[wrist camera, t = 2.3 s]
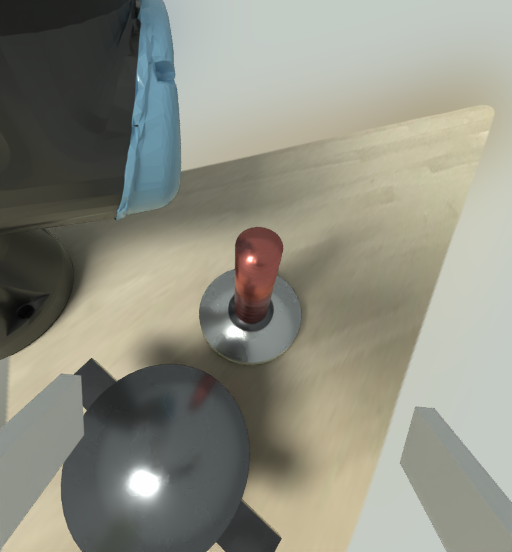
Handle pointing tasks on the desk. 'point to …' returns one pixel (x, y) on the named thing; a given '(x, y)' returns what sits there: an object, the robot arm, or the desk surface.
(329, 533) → the desk surface
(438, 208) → the desk surface
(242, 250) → the lid
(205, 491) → the pot
